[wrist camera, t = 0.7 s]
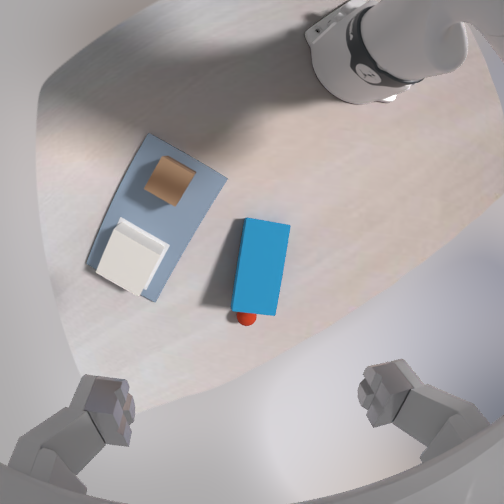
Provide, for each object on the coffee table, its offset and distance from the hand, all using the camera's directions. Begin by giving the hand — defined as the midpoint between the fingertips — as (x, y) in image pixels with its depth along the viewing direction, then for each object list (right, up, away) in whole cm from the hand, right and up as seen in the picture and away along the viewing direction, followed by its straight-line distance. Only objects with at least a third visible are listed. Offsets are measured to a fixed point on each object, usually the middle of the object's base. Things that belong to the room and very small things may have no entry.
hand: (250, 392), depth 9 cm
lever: (0, +1, +40) cm, 40 cm away
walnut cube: (-11, +15, +32) cm, 38 cm away
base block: (-19, +4, +35) cm, 40 cm away
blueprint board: (-16, +9, +35) cm, 39 cm away
